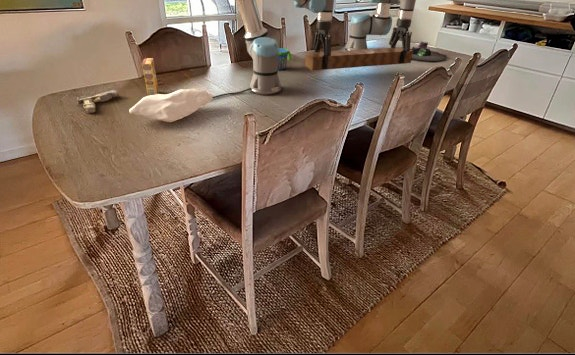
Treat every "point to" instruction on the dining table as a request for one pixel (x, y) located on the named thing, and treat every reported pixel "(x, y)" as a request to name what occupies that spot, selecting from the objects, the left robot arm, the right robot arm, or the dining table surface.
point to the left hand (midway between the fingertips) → (320, 66)
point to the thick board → (357, 58)
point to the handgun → (95, 100)
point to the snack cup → (283, 58)
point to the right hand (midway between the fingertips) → (396, 60)
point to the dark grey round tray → (426, 53)
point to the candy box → (150, 76)
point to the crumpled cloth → (171, 104)
